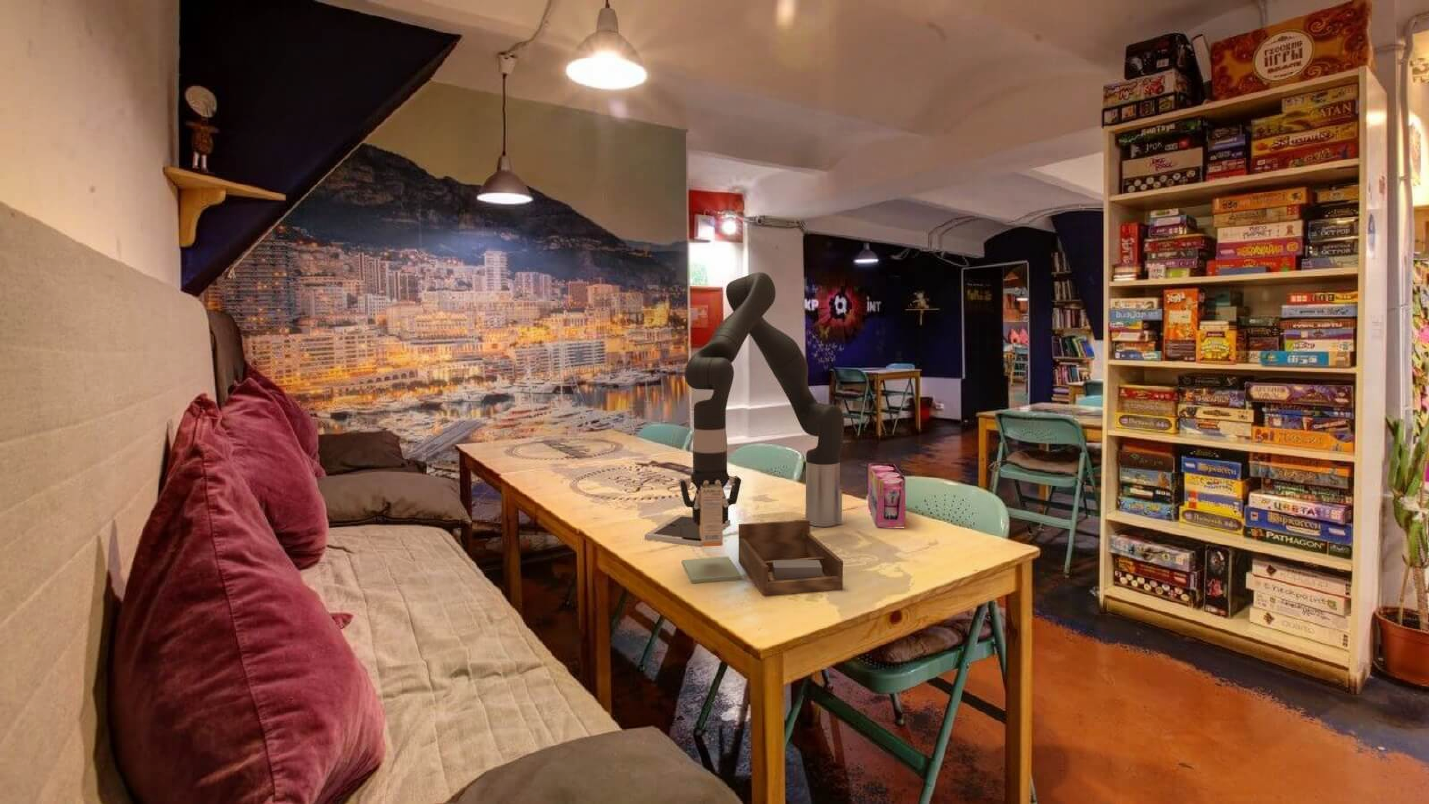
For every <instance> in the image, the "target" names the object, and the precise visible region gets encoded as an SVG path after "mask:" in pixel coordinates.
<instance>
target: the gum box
mask: <svg viewBox="0 0 1429 804" xmlns="http://www.w3.org/2000/svg"><path fill="white" fill-rule="evenodd" d="M867 471H868V475H867V476H868V479H867V480H868V481H867V482H868V483H867V484H868V485H867V487H868V489H867V491H868V492H867V496H868V497H867V502H868V503H867V504H868V505H867V508H868V510H870V511H869V512H871V513H870V515H872V516H871V517H872V520H873V523H874V525H875V527H905V526H906V477H905V475H903V474H902V472H901V471H900V470H899V469H898V468H897V466H896V464H895V463H868V470H867Z"/></svg>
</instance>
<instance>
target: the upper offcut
mask: <svg viewBox="0 0 1429 804" xmlns="http://www.w3.org/2000/svg"><path fill="white" fill-rule="evenodd" d="M772 573H773V577H774V579H807V578H819V577H822V566H821V564H820V561H819V560H772Z"/></svg>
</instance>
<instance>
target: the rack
mask: <svg viewBox="0 0 1429 804" xmlns="http://www.w3.org/2000/svg"><path fill="white" fill-rule="evenodd" d="M772 560H819V561H820V564H821V566H822V572H823V573H824V575H825V576H826V577H819V578H807V579H795V580H783V581H771V582H768V572H772ZM738 563H739V564H740V566H741V567H742V569H743V570H744V571H745V573H746V574H747V576H748V577H749V579H750V580H751V581H752V582H753V583H754V585H755V586H756V588H757V589H758V590H759V592H760V593H761V594H762V596H763V597H766V596H768V597H769V596H779V595H790V594H803V593H813V592H822V591H834V590H843V586H844V585H843V583H844V581H843V578H844V573H843V572H844V571H843V570H844V561H843V560H842V558H840V557H839V556H838V555H836V554H835V553H834V552H833V551H832V550H831V549H830V548H828V547H827V546H826V545H825V544H823V543H822V542H821V541H820V540H819V539H818V538H816V537H815V536H814V535H813V534H811V525H810V520H806V519H799V520H798V519H795V520H782V521H769V522H766V521H765V522H752V523H738Z"/></svg>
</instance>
